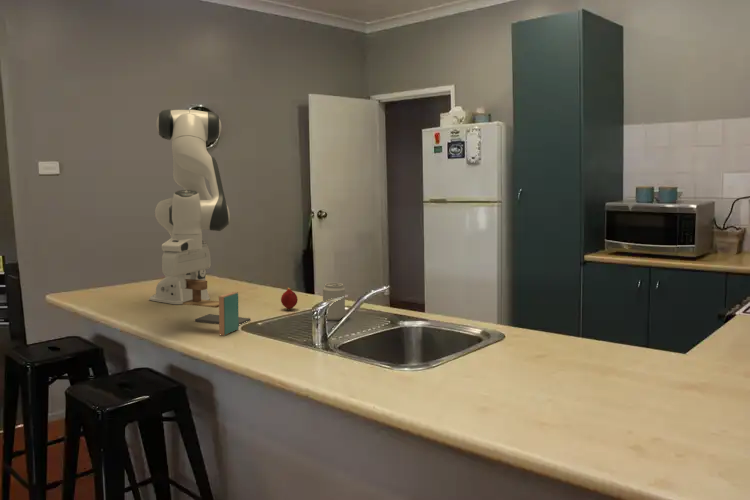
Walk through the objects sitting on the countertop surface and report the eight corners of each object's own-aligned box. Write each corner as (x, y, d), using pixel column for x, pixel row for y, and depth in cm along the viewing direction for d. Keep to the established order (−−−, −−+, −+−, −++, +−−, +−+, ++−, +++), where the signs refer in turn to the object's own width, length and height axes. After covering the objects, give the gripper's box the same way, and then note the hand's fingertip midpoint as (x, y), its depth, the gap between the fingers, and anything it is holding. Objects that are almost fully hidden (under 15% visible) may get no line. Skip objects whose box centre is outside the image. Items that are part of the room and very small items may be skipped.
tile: (219, 335, 195) (218, 296, 194) (233, 329, 203) (233, 291, 201) (224, 336, 195) (224, 296, 193) (239, 330, 202) (238, 292, 200)
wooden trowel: (177, 303, 200) (177, 280, 199) (189, 300, 206) (188, 277, 205) (216, 307, 196) (215, 284, 195) (227, 304, 201) (226, 281, 200)
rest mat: (195, 321, 212) (195, 319, 212) (209, 316, 220) (209, 314, 219) (237, 326, 207) (237, 323, 207) (250, 320, 214) (250, 318, 214)
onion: (298, 308, 234) (299, 286, 233) (295, 311, 228) (295, 289, 227) (283, 307, 235) (283, 286, 234) (279, 311, 229) (279, 289, 228)
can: (349, 318, 219) (349, 283, 218) (333, 322, 214) (333, 286, 212) (334, 315, 224) (334, 281, 223) (318, 318, 219) (318, 283, 218)
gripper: (198, 239, 211) (199, 280, 213) (157, 245, 192) (159, 291, 193) (215, 240, 209) (215, 282, 210) (175, 246, 190) (176, 293, 191)
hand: (188, 286), depth 202 cm, fingers closed on wooden trowel, 3 cm apart
